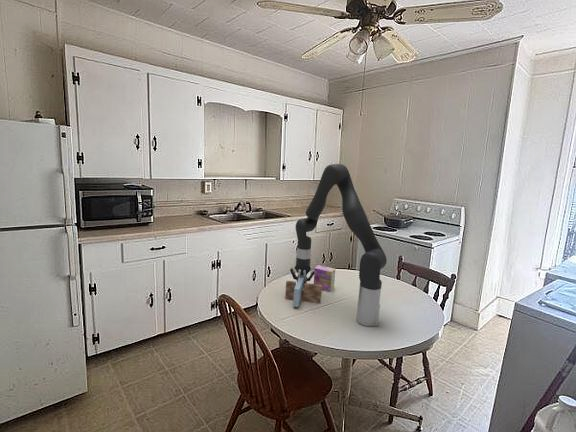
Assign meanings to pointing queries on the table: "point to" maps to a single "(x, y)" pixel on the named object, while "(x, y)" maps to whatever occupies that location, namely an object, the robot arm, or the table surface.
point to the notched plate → (298, 291)
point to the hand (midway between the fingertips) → (301, 287)
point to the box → (324, 277)
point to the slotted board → (304, 292)
